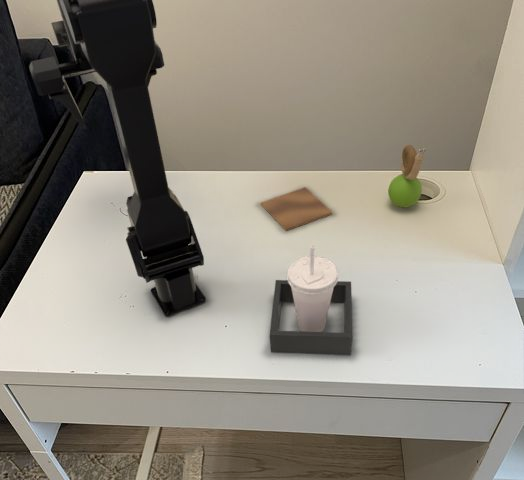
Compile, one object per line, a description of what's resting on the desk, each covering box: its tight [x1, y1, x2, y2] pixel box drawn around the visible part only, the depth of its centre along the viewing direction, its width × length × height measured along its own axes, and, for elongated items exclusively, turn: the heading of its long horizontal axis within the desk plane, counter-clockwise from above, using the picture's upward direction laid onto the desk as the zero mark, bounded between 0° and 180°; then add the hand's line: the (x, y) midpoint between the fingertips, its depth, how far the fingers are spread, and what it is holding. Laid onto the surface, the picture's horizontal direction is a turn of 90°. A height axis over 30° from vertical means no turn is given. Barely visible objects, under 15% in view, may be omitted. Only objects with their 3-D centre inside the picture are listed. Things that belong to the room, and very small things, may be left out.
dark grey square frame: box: [269, 279, 354, 356], centre depth 75 cm, size 11×11×4 cm
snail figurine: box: [387, 144, 427, 208], centre depth 89 cm, size 5×6×12 cm
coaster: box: [260, 187, 333, 232], centre depth 94 cm, size 9×9×1 cm
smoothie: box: [286, 245, 339, 332], centre depth 71 cm, size 6×6×14 cm
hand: (113, 120), depth 87 cm, fingers open, 9 cm apart
